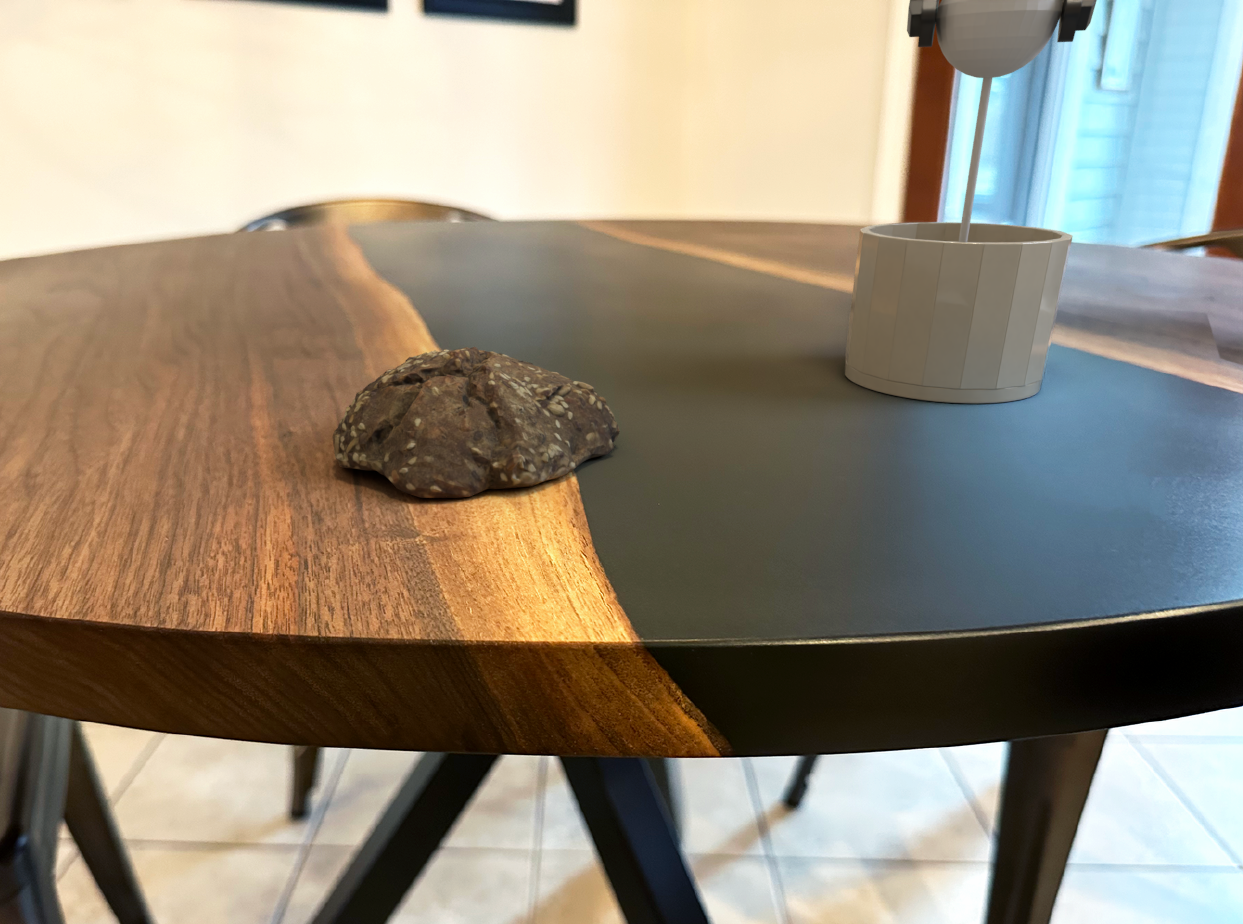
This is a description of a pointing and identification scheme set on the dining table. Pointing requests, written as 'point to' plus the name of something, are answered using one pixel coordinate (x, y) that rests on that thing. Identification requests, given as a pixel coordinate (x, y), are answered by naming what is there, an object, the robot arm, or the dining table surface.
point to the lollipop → (991, 53)
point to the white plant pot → (954, 310)
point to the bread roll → (472, 424)
